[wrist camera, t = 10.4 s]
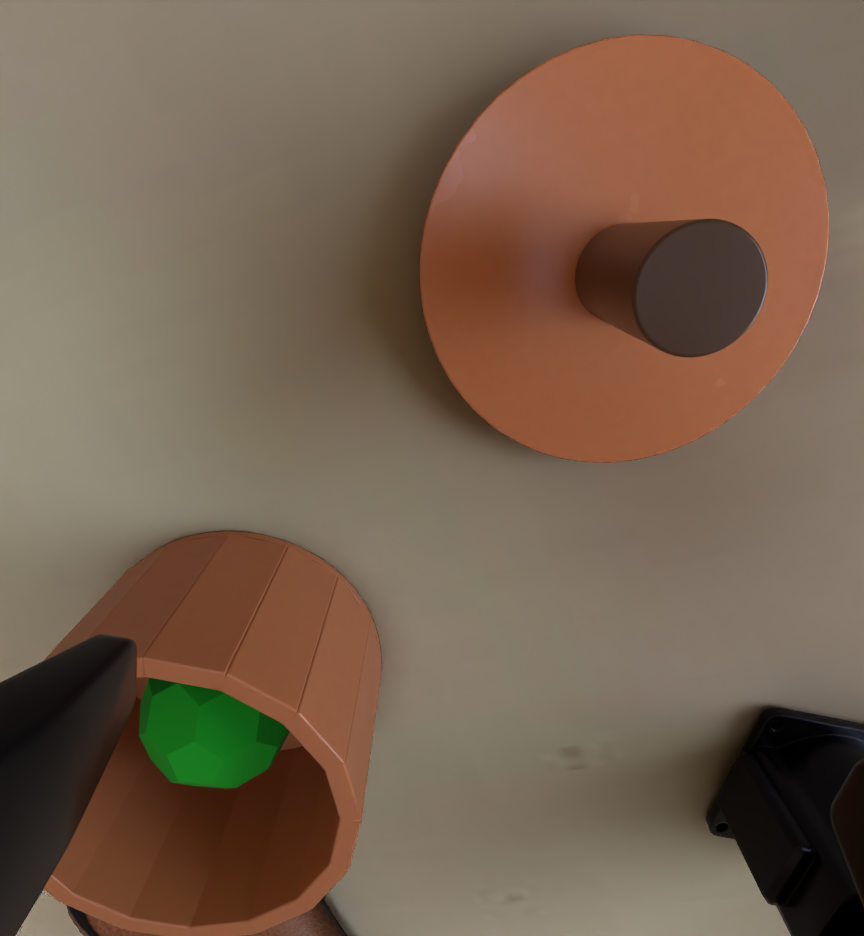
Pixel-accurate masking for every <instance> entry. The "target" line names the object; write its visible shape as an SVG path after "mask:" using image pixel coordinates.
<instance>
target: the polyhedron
mask: <svg viewBox="0 0 864 936" xmlns="http://www.w3.org/2000/svg"><path fill="white" fill-rule="evenodd" d="M289 733H290V731H289V730H288V729H287V728H286V727H285V726H284V725H283V724H282V723H280V722H278V721H276V720H275V719H273V718H271V717H269V716H267V715H265V714H263V713H261V712H259V711H258V710H256V709H254V708H252V707H250V706H248V705H246V704H244V703H242V702H241V701H239V700H237V699H235V698H233V697H231V696H229V695H227V694H225V693H224V692H222V691H219V690H214V689H209V688H203V687H198V686H192V685H187V684H181V683H176V682H170V681H165V680H160V679H154V678H149V679H148V682H147V685H146V688H145V691H144V694H143V697H142V700H141V703H140V723H139V737H140V739H141V741H142V743H143V745H144V747H145V749H146V751H147V753H148V755H149V757H150V759H151V760H152V761H153V763H154V764H155V765H156V766H157V767H158V768H159V769H160V771H161V772H162V773H163V774H164V775H165V776H166V777H167V779H168V780H169V781H170V782H171V783H178V784H184V785H191V786H200V787H212V788H224V789H228V788H237V787H239V786H240V785H242V784H244V783H245V782H247V781H249V780H250V779H252V778H254V777H256V776H257V775H259V774H261V773H262V772H264V771H266V770H267V769H269V767H270V766H271V765H272V763H273V762H274V760H275V759H276V757H277V755H278V753H279V751H280V750H281V748H282V746H283V744H284V742H285V740H286V738H287V737H288V735H289Z"/></svg>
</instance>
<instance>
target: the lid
mask: <svg viewBox="0 0 864 936" xmlns="http://www.w3.org/2000/svg"><path fill="white" fill-rule="evenodd" d="M828 242H829V207H828V200H827V193H826V186H825V180H824V176H823V173H822V169H821V166H820V162H819V159H818V155H817V152H816V150H815V148H814V146H813V144H812V141H811V139H810V137H809V135H808V133H807V130H806V128H805V126H804V125H803V123H802V122H801V120H800V119H799V117H798V116H797V114H796V113H795V111H794V110H793V108H792V107H791V105H790V104H789V102H788V101H787V100H786V99H785V98H784V97H783V96H782V95H781V94H780V93H779V91H778V90H777V89H776V88H775V87H774V86H773V85H772V84H771V83H770V82H769V81H768V80H767V79H765V78H764V77H763V76H762V75H760V74H759V73H758V72H757V71H755V70H754V69H753V68H752V67H750V66H749V65H748V64H746V63H744V62H742V61H740V60H739V59H737V58H735V57H733V56H732V55H730V54H728V53H726V52H724V51H722V50H720V49H717V48H714V47H711V46H708V45H706V44H703V43H700V42H697V41H694V40H688V39H683V38H677V37H672V36H667V35H631V36H623V37H615V38H607V39H603V40H600V41H596V42H593V43H589V44H586V45H582V46H579V47H576V48H574V49H571V50H569V51H567V52H564V53H562V54H560V55H558V56H555V57H553V58H551V59H549V60H547V61H545V62H544V63H542V64H541V65H539V66H537V67H536V68H534V69H532V70H531V71H529V72H528V73H526V74H524V75H523V76H521V77H520V78H519V79H518V80H516V81H515V82H514V83H513V84H512V85H510V86H509V87H508V88H507V89H505V90H504V91H503V92H502V93H501V94H499V95H498V96H497V97H496V98H495V99H494V100H493V101H492V102H491V103H490V104H489V106H488V107H487V108H486V109H485V110H484V111H483V112H482V113H481V114H480V115H479V116H478V117H477V118H476V119H475V121H474V122H473V124H472V125H471V126H470V128H469V129H468V130H467V132H466V133H465V135H464V136H463V137H462V139H461V140H460V141H459V143H458V144H457V146H456V148H455V150H454V151H453V153H452V155H451V157H450V159H449V160H448V162H447V164H446V166H445V168H444V169H443V171H442V174H441V176H440V179H439V181H438V184H437V186H436V189H435V191H434V194H433V196H432V199H431V203H430V206H429V210H428V214H427V217H426V221H425V225H424V230H423V238H422V245H421V252H420V290H421V300H422V309H423V313H424V317H425V321H426V325H427V330H428V334H429V337H430V339H431V342H432V344H433V347H434V350H435V352H436V355H437V358H438V360H439V361H440V363H441V365H442V367H443V369H444V371H445V372H446V374H447V376H448V378H449V380H450V381H451V383H452V384H453V385H454V387H455V388H456V389H457V391H458V392H459V394H460V395H461V396H462V398H463V399H464V400H465V401H466V402H467V403H468V404H469V405H470V406H471V407H472V409H473V410H474V411H475V412H476V413H477V414H478V415H479V416H480V417H481V418H483V419H484V420H485V421H486V422H488V423H489V424H490V425H491V426H493V427H494V428H495V429H496V430H498V431H499V432H501V433H502V434H504V435H506V436H507V437H509V438H511V439H512V440H514V441H516V442H518V443H520V444H522V445H524V446H526V447H529V448H531V449H533V450H536V451H538V452H541V453H544V454H548V455H551V456H555V457H558V458H562V459H568V460H575V461H581V462H603V463H610V462H620V461H631V460H636V459H641V458H646V457H650V456H655V455H658V454H661V453H664V452H667V451H670V450H673V449H676V448H679V447H681V446H683V445H685V444H688V443H690V442H692V441H694V440H696V439H698V438H700V437H702V436H704V435H706V434H707V433H709V432H711V431H712V430H714V429H715V428H717V427H719V426H720V425H722V424H723V423H725V422H726V421H728V420H729V419H730V418H731V417H733V416H734V415H735V414H737V413H738V412H739V411H740V410H742V409H743V408H744V407H745V406H746V405H747V404H749V403H750V402H751V401H752V400H753V399H754V398H755V397H756V396H757V395H758V394H759V393H760V392H761V391H762V390H763V389H764V388H765V387H766V385H767V384H768V383H769V382H770V381H771V379H772V378H773V377H774V376H775V375H776V373H777V372H778V371H779V370H780V369H781V367H782V366H783V364H784V363H785V361H786V360H787V358H788V357H789V355H790V354H791V352H792V351H793V349H794V348H795V346H796V344H797V343H798V341H799V339H800V337H801V335H802V333H803V331H804V329H805V327H806V325H807V323H808V321H809V319H810V316H811V313H812V311H813V308H814V305H815V303H816V300H817V297H818V295H819V291H820V287H821V283H822V279H823V275H824V271H825V267H826V259H827V251H828Z"/></svg>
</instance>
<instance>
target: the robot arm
mask: <svg viewBox="0 0 864 936" xmlns="http://www.w3.org/2000/svg"><path fill="white" fill-rule="evenodd" d="M136 683H137V646H136V643H135V642H134V641H133V640H132V639H130V638H125V637H119V636H113V635H107V634H99V635H96V636H93V637H91V638H89V639H87V640H85V641H83V642H81V643H79V644H77V645H75V646H73V647H71V648H69V649H67V650H65V651H63V652H61V653H59V654H57V655H55V656H53V657H51V658H49V659H47V660H45V661H43V662H41V663H39V664H37V665H35V666H33V667H31V668H29V669H27V670H25V671H23V672H21V673H19V674H17V675H15V676H13V677H11V678H9V679H7V680H4V681H2V682H0V936H15V935H16V934H17V932H18V930H19V929H20V927H21V925H22V924H23V922H24V920H25V919H26V917H27V915H28V914H29V912H30V910H31V909H32V907H33V905H34V904H35V902H36V900H37V899H38V897H39V895H40V894H41V892H42V890H43V889H44V887H45V885H46V884H47V882H48V880H49V879H50V877H51V875H52V874H53V872H54V870H55V869H56V867H57V865H58V863H59V861H60V860H61V858H62V856H63V854H64V853H65V851H66V849H67V847H68V846H69V843H70V841H71V839H72V837H73V835H74V833H75V831H76V829H77V827H78V825H79V823H80V821H81V819H82V817H83V815H84V813H85V811H86V809H87V806H88V804H89V802H90V800H91V798H92V796H93V794H94V792H95V790H96V787H97V785H98V783H99V781H100V779H101V777H102V775H103V773H104V770H105V768H106V766H107V764H108V762H109V760H110V758H111V756H112V754H113V751H114V749H115V747H116V745H117V743H118V741H119V739H120V737H121V734H122V732H123V730H124V728H125V726H126V724H127V722H128V720H129V718H130V715H131V713H132V710H133V707H134V703H135V699H136ZM774 721H776V722H774ZM773 722H774V723H773ZM706 823H707V825H708V827H709V829H710V832H711V833H712V834H713V835H716V836H721V837H726V838H732V839H735V840H736V842H737V844H738V846H739V848H740V850H741V852H742V854H743V856H744V858H745V860H746V862H747V865H748V867H749V869H750V871H751V873H752V875H753V877H754V879H755V881H756V883H757V885H758V887H759V889H760V891H761V893H762V895H763V897H764V898H765V900H766V901H767V903H768V904H771V905H776V906H777V908H778V910H779V912H780V914H781V916H782V918H783V920H784V922H785V924H786V926H787V928H788V930H789V932H790V934H791V936H864V724H860V723H855V722H850V721H845V720H839V719H834V718H829V717H824V716H819V715H814V714H808V713H803V712H798V711H793V710H788V709H783V708H774V707H773V708H769V709H767V710H765V711H764V712H763V713H762V714H761V715H760V717H759V719H758V721H757V723H756V725H755V726H754V728H753V730H752V732H751V734H750V736H749V738H748V740H747V742H746V743H745V745H744V747H743V749H742V751H741V753H740V755H739V757H738V758H737V760H736V762H735V764H734V766H733V768H732V770H731V772H730V774H729V775H728V777H727V779H726V781H725V783H724V785H723V787H722V789H721V790H720V792H719V794H718V796H717V798H716V800H715V802H714V804H713V806H712V807H711V809H710V811H709V813H708V815H707V817H706Z"/></svg>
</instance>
